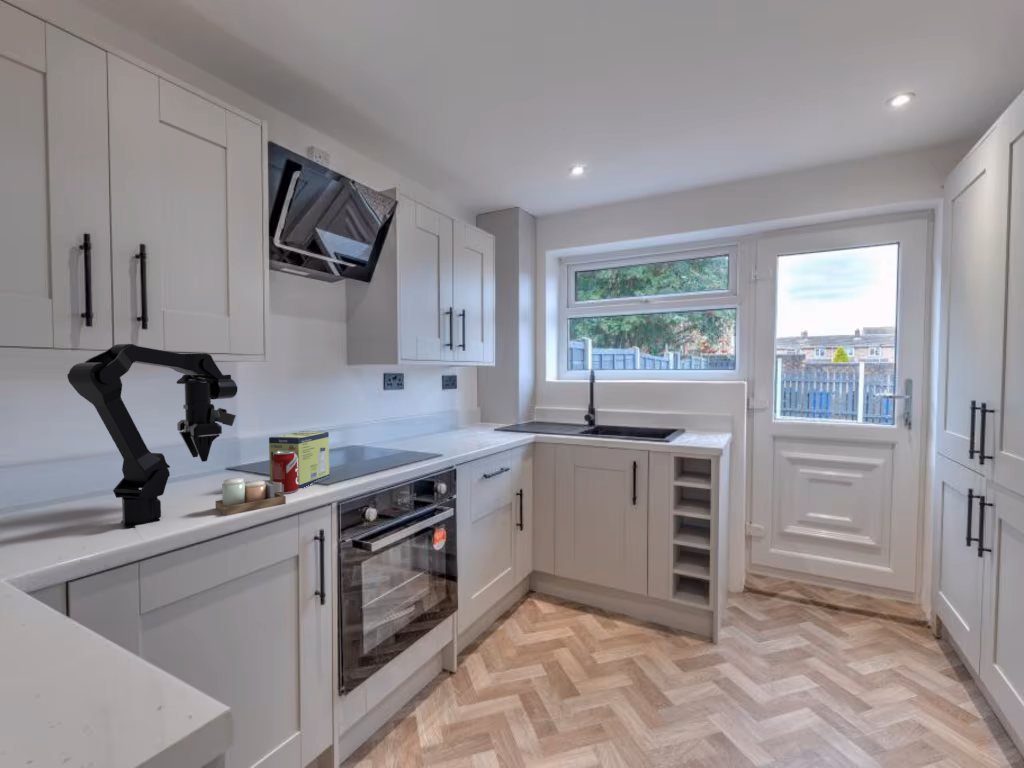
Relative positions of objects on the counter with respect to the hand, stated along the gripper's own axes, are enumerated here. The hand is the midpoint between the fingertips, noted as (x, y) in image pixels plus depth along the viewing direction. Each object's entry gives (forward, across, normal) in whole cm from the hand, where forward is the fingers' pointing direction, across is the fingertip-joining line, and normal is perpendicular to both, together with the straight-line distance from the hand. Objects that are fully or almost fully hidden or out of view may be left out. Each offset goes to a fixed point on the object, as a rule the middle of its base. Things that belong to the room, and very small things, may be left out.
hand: (199, 459), depth 128 cm
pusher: (+12, -14, -12) cm, 22 cm away
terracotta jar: (+12, -14, -9) cm, 20 cm away
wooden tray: (+12, -14, -8) cm, 20 cm away
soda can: (+12, -5, -20) cm, 24 cm away
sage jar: (+10, -14, -4) cm, 18 cm away
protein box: (+12, +4, -28) cm, 31 cm away
